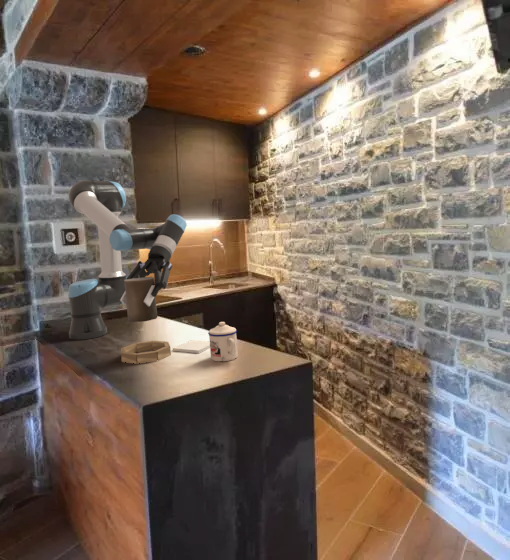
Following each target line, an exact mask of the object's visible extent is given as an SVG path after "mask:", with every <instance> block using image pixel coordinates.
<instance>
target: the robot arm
mask: <svg viewBox="0 0 510 560" xmlns="http://www.w3.org/2000/svg"><path fill="white" fill-rule="evenodd" d="M68 200H69V203H70V205H71V207H72V208H73V209H74V210H75V211H76V212H77V213H80V214H82V215H83V214H84V215H85V216H86V217H87V218H88V219H89V220H90V221H91V222H92V223H93V224H95V225H96V227H97V233H98V244H99V256H100V269H101V272H100V274H98V276H97V277H98V279H97V278H88V279H82V280H78V281H75V282H73V283H71V284H69V285H68V300H69V307H70V316H71V321H70V327H69V331H68V336H69V337H68V338H69V339H70V340H75V341H76V340H87V339H93V338H94V339H95V338H99V337H102V335H103V336H105V335H107V334H108V327H107V325H106V324H105V322H104V319H103V317H102V312H101V309H104V308H108V307H112V306H113V307H114V306H120V305H124V306H127V305H126V293H125V282H124V280H126V279H132V278H139V277H140V278H141V277H149V275H150V274H154V275H153V278H154V283H153V284H154V285H152V286H151V288H150V290H149V292H148V294H147V296H146V298H145V300H144V303H145V304H146V305H147V306H150V305H151V303H152V301H153V299H154V297H157V296H158V293H159V291H160V290H161V289H166V288H167V286H168V281H169V277H170V273H171V270H172V268H173V265H172V263H171V262H170V260H171V258H172V256H173V254H174V253H175V250H176V248H177V246H178V245H179V242H180V241H181V238H182V237H183V234H185V230H186V228H187V226H188V225H187V221H186V220H185V218H184V217H182V216H181V215H179V214H170V215H169V216H168V217H167V218H166V219H165V222H164V223H162V224H160V225H158V226H156V227H150V228H148V227H146V228H131V227H130V226H129V225H127V224H126V223H125V222H124V221H123V220H121V218H119V216H120V214H121V213H122V209H123V208H125V206H126V202H127V196H126V191H125V189H124V187H123V186H122V185H121V184H120V183H118V182H116V181H110V180H88V179H87V180H86V179H85V180H80V181H77V182H76V183H73V184H72V186H71V187H70V189H69V192H68ZM145 249H146V250H149V252H148V254H147V260H146V261H145V262H142V261H140V260H139V261H138V262H137V264H136V266H135V268H134V269H133V270H132V271H131V272H130V274H129V275H128V276H127V275H126V273H125V272H124V271H123V265H122V253H121V252H127V251H132V250H133V251H134V250H145ZM106 333H107V334H106Z"/></svg>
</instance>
